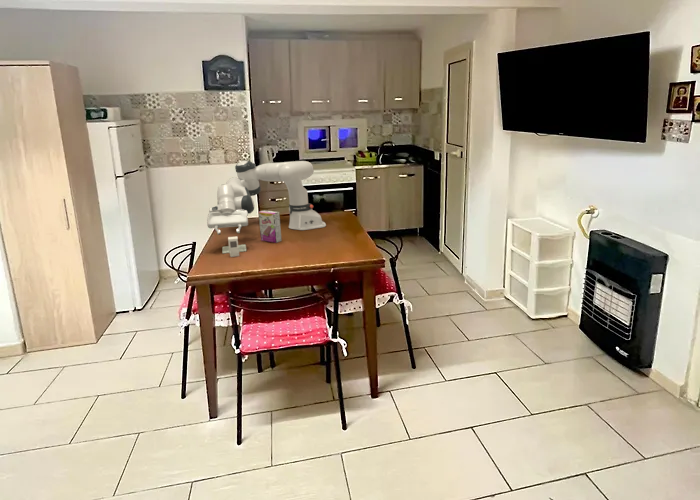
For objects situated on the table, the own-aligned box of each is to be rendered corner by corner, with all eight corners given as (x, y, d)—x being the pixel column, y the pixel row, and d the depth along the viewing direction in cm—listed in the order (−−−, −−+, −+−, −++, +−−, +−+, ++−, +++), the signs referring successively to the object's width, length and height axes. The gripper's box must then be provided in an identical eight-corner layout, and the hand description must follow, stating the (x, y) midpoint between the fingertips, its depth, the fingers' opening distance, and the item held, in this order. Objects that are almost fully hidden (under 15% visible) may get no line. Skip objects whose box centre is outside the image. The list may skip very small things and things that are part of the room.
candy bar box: (260, 241, 267) (257, 211, 262) (266, 238, 271) (263, 210, 266) (276, 243, 262) (273, 213, 257) (282, 241, 266) (279, 211, 261)
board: (245, 245, 260) (245, 244, 260) (246, 251, 249) (246, 250, 249) (222, 247, 258) (222, 246, 258) (222, 253, 247) (222, 252, 246)
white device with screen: (239, 253, 246) (237, 236, 243) (239, 256, 242) (237, 238, 239) (230, 254, 245) (228, 237, 242) (230, 257, 241) (228, 239, 238)
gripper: (247, 212, 256) (249, 235, 250) (207, 215, 252) (208, 238, 245) (247, 206, 251) (249, 228, 244) (206, 208, 246) (207, 231, 240)
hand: (228, 233), depth 245 cm, fingers open, 8 cm apart
